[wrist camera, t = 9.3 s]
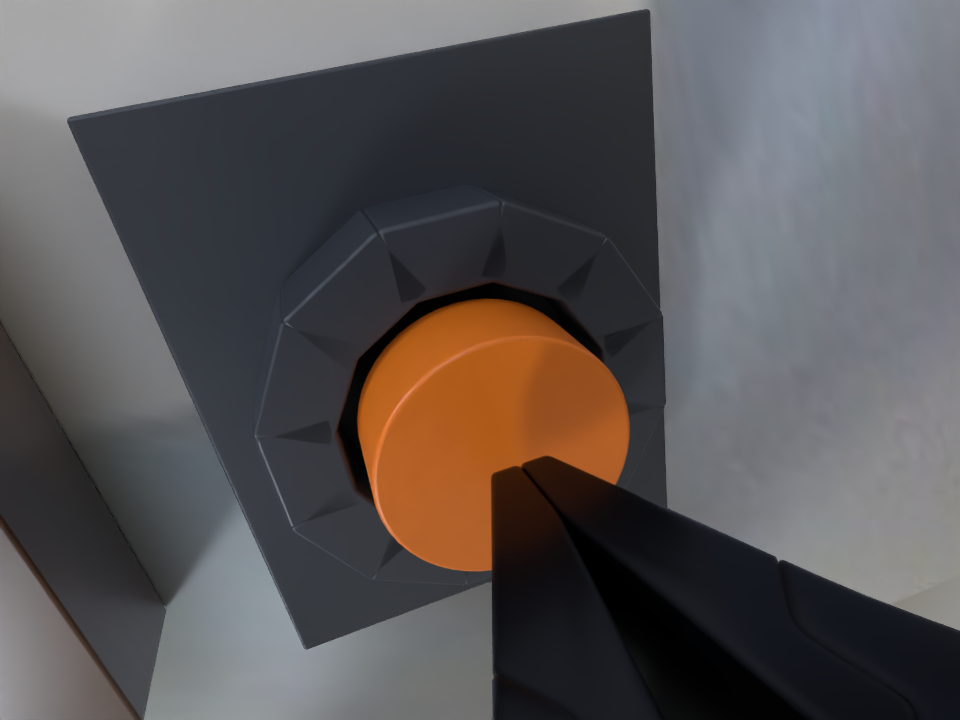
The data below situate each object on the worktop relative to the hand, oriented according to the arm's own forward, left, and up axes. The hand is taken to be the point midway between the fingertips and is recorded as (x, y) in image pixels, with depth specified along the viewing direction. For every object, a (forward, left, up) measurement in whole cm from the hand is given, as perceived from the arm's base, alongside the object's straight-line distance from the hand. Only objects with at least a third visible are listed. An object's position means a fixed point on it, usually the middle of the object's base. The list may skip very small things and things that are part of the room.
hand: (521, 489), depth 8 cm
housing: (0, 0, -6) cm, 6 cm away
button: (0, 0, -2) cm, 2 cm away
